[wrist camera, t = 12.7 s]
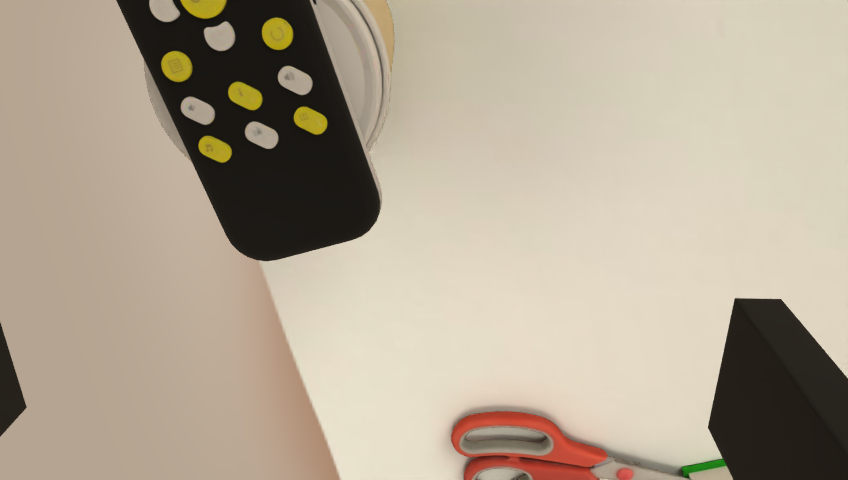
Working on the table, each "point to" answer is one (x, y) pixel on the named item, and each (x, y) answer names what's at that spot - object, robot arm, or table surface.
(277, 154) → the remote control
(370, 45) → the coffee cup
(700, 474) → the book
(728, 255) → the table surface
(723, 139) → the table surface
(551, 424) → the scissors
